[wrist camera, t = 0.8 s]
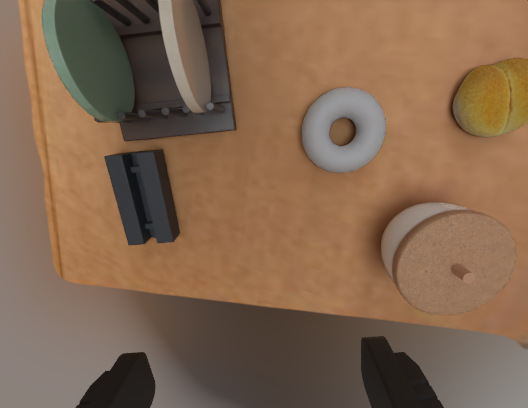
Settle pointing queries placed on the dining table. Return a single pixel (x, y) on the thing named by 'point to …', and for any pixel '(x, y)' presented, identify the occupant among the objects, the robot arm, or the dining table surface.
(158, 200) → the plate stand
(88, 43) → the sage plate
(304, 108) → the dining table surface
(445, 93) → the dining table surface
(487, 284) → the lidded bowl
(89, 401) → the robot arm
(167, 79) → the dish rack
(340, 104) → the donut
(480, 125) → the bread roll
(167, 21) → the cream plate
